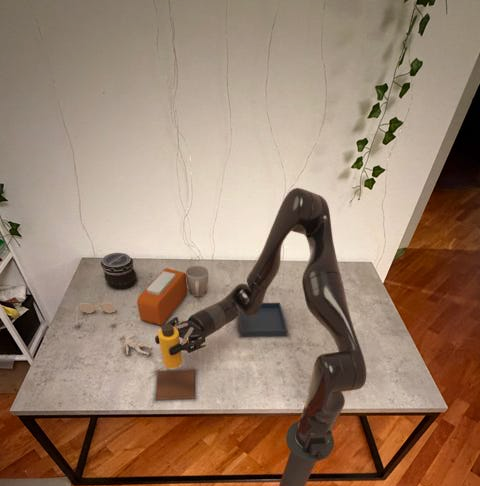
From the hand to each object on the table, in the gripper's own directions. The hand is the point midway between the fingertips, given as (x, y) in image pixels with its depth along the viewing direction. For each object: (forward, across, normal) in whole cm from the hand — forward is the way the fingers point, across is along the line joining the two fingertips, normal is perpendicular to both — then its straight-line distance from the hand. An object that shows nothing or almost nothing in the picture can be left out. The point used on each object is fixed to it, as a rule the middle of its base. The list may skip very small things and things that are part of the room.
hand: (162, 346), depth 94 cm
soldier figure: (-2, -22, +18) cm, 29 cm away
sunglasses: (-1, -46, +18) cm, 49 cm away
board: (-2, 0, +18) cm, 18 cm away
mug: (-40, -33, +18) cm, 55 cm away
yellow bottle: (-2, 0, +8) cm, 8 cm away
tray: (-47, -4, +18) cm, 50 cm away
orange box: (-25, -35, +18) cm, 47 cm away
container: (-22, -61, +18) cm, 67 cm away
